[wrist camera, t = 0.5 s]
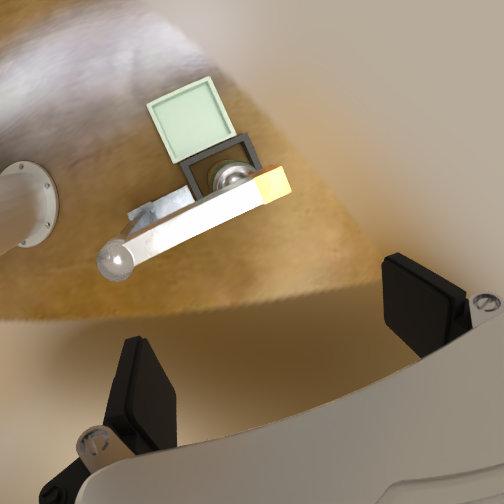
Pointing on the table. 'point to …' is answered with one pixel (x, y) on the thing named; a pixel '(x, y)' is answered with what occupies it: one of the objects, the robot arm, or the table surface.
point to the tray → (191, 119)
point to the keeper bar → (190, 221)
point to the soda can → (227, 173)
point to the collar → (242, 138)
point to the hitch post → (157, 209)
